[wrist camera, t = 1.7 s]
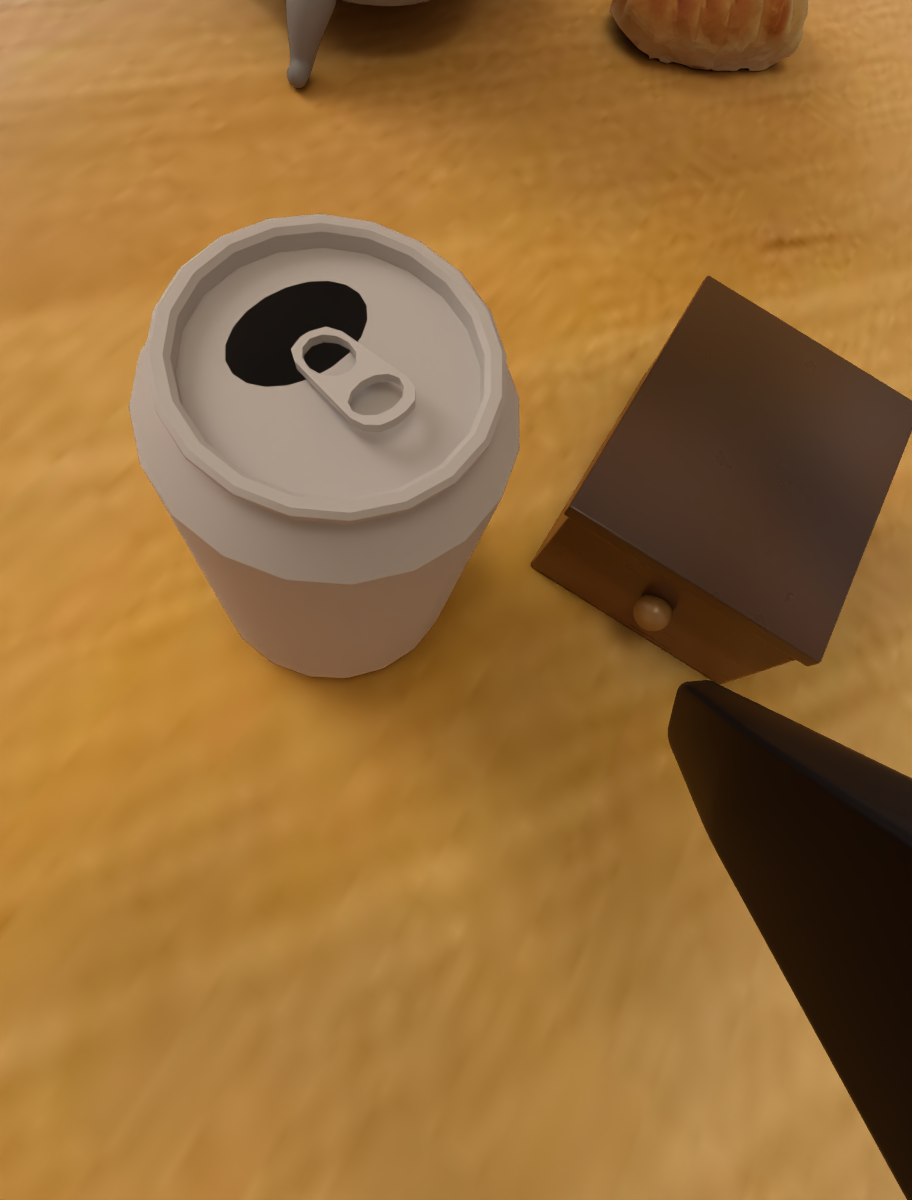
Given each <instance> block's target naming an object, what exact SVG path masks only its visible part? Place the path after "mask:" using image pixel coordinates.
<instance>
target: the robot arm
mask: <svg viewBox="0 0 912 1200" xmlns="http://www.w3.org/2000/svg"><path fill="white" fill-rule="evenodd" d="M668 739H669V743H670V746H671V749H672V751H673V754H674V756H675V758H676V761H677V763H678V765H679V768H680V770H681V773H682V775H683V777H684V780H685V782H686V785H687V787H688V789H689V792H690V794H691V797H692V799H693V801H694V804H695V806H696V808H697V811H698V813H699V816H700V818H701V820H702V823H703V825H704V827H705V829H706V832H707V834H708V836H709V838H710V840H711V842H712V844H713V846H714V848H715V850H716V852H717V854H718V855H719V857H720V859H721V861H722V863H723V865H724V866H725V868H726V870H727V872H728V874H729V876H730V877H731V879H732V881H733V883H734V885H735V886H736V888H737V890H738V892H739V894H740V896H741V897H742V899H743V901H744V903H745V905H746V907H747V908H748V910H749V912H750V914H751V916H752V918H753V919H754V921H755V923H756V925H757V927H758V929H759V930H760V932H761V934H762V936H763V938H764V939H765V941H766V943H767V945H768V947H769V949H770V950H771V952H772V954H773V956H774V958H775V960H776V961H777V963H778V965H779V967H780V969H781V971H782V972H783V974H784V976H785V978H786V980H787V982H788V983H789V985H790V987H791V989H792V991H793V992H794V994H795V996H796V998H797V1000H798V1002H799V1003H800V1005H801V1007H802V1009H803V1011H804V1013H805V1014H806V1016H807V1018H808V1020H809V1022H810V1024H811V1025H812V1027H813V1029H814V1031H815V1033H816V1034H817V1036H818V1038H819V1040H820V1042H821V1044H822V1045H823V1047H824V1049H825V1051H826V1053H827V1055H828V1056H829V1058H830V1060H831V1062H832V1064H833V1066H834V1067H835V1069H836V1071H837V1073H838V1075H839V1077H840V1078H841V1080H842V1082H843V1084H844V1086H845V1087H846V1089H847V1091H848V1093H849V1095H850V1097H851V1098H852V1100H853V1102H854V1104H855V1106H856V1108H857V1109H858V1111H859V1113H860V1115H861V1117H862V1119H863V1120H864V1122H865V1124H866V1126H867V1128H868V1130H869V1131H870V1133H871V1135H872V1137H873V1139H874V1140H875V1142H876V1144H877V1146H878V1148H879V1150H880V1151H881V1153H882V1155H883V1157H884V1159H885V1161H886V1162H887V1164H888V1166H889V1168H890V1170H891V1172H892V1173H893V1175H894V1177H895V1179H896V1181H897V1182H898V1184H899V1186H900V1188H901V1190H902V1192H903V1193H904V1195H905V1197H906V1199H907V1200H912V778H910V777H908V776H906V775H904V774H902V773H900V772H897V771H895V770H893V769H891V768H889V767H887V766H885V765H883V764H881V763H879V762H877V761H875V760H873V759H871V758H869V757H867V756H865V755H862V754H860V753H858V752H856V751H854V750H852V749H850V748H848V747H846V746H844V745H842V744H840V743H838V742H836V741H834V740H832V739H830V738H828V737H825V736H823V735H821V734H819V733H817V732H815V731H813V730H811V729H809V728H807V727H805V726H803V725H801V724H799V723H797V722H795V721H793V720H791V719H789V718H786V717H784V716H782V715H780V714H778V713H776V712H774V711H772V710H770V709H768V708H766V707H764V706H762V705H760V704H758V703H756V702H754V701H752V700H749V699H747V698H745V697H743V696H741V695H739V694H737V693H735V692H733V691H731V690H729V689H727V688H725V687H723V686H721V685H719V684H717V683H715V682H712V681H708V680H703V681H691V682H684V683H683V684H681V685H680V686H679V688H678V690H677V693H676V697H675V701H674V705H673V709H672V714H671V718H670V722H669V726H668Z"/></svg>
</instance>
